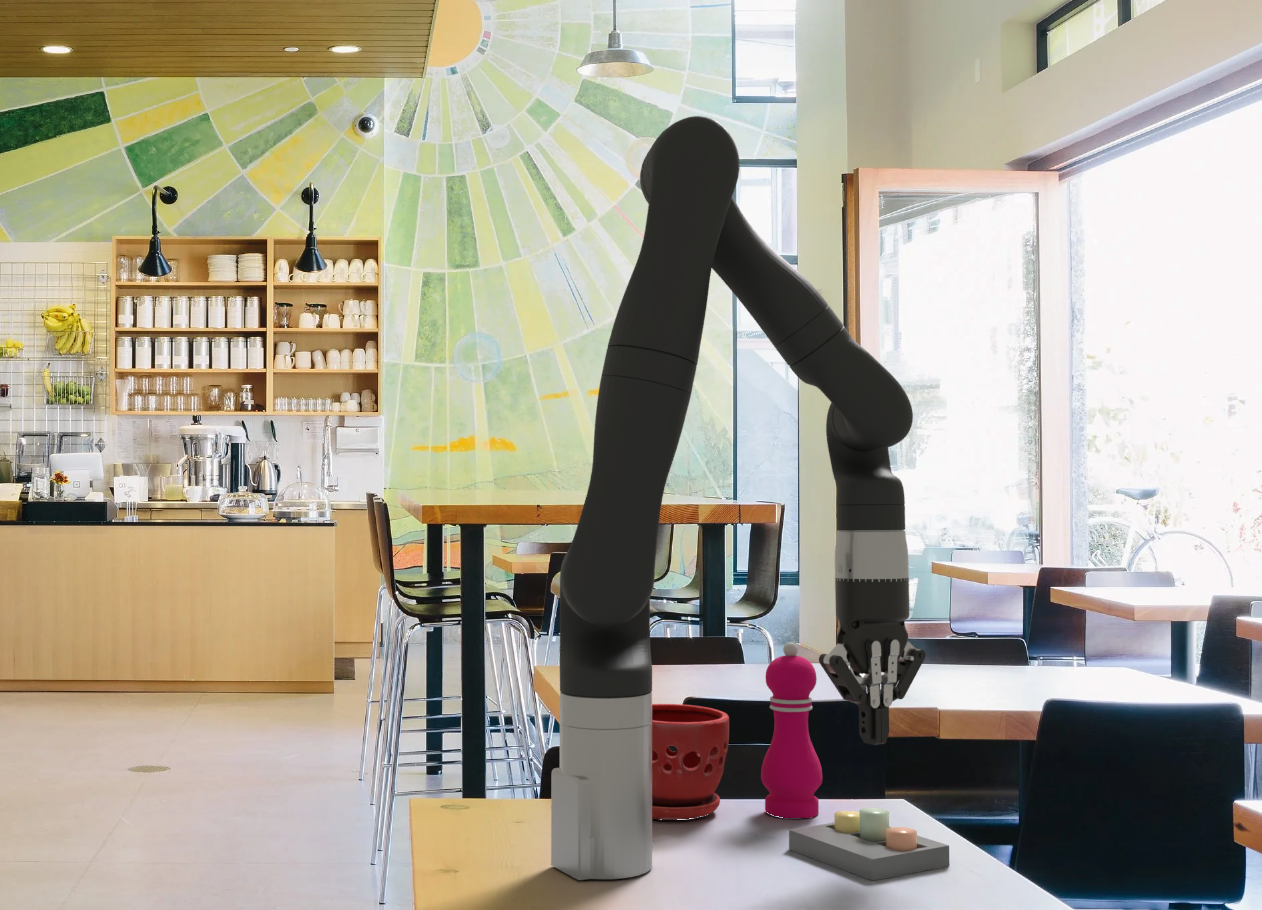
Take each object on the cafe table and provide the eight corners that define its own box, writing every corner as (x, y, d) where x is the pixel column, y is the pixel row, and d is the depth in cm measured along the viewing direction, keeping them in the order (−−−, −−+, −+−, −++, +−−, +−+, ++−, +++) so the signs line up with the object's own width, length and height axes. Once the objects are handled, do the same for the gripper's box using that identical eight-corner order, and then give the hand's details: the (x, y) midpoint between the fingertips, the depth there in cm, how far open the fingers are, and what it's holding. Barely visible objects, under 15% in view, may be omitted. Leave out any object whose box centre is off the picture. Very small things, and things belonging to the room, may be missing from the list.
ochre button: (847, 848, 126) (847, 818, 126) (828, 841, 129) (828, 812, 129) (869, 844, 127) (869, 815, 128) (850, 838, 130) (850, 809, 130)
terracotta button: (900, 866, 119) (900, 835, 119) (880, 859, 122) (879, 829, 122) (923, 862, 121) (923, 831, 121) (902, 855, 123) (902, 825, 123)
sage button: (873, 846, 123) (872, 816, 123) (853, 839, 125) (853, 809, 125) (895, 842, 124) (895, 812, 124) (875, 835, 127) (875, 806, 127)
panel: (872, 880, 116) (872, 859, 116) (789, 848, 127) (788, 829, 127) (949, 865, 121) (949, 845, 121) (862, 836, 132) (862, 817, 132)
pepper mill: (821, 806, 146) (819, 639, 147) (824, 821, 139) (823, 645, 140) (760, 805, 147) (759, 638, 148) (761, 819, 140) (760, 644, 141)
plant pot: (615, 826, 137) (615, 718, 137) (620, 799, 150) (621, 701, 150) (731, 827, 136) (731, 719, 137) (727, 800, 149) (726, 702, 150)
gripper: (845, 577, 120) (848, 755, 119) (944, 573, 126) (948, 742, 125) (798, 574, 126) (800, 743, 125) (894, 571, 133) (897, 731, 132)
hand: (874, 742), depth 125 cm, fingers closed
